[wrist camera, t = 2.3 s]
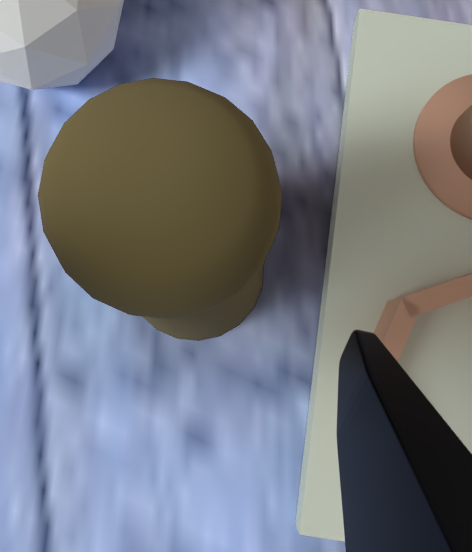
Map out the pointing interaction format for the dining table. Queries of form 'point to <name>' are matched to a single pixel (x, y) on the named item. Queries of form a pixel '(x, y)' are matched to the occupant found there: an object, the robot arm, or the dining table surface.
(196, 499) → the dining table surface
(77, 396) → the dining table surface
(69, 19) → the faceted white bauble
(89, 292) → the cork
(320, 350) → the pin board
